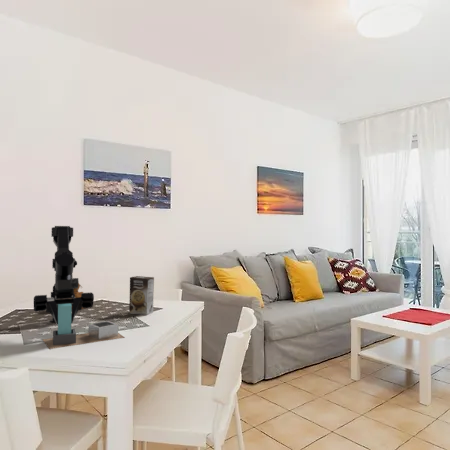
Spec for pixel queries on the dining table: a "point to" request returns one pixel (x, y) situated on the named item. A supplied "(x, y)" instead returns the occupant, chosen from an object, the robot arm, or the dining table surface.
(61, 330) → the plug
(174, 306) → the dining table surface
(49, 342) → the panel board
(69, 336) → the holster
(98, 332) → the port
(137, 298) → the coffee box
